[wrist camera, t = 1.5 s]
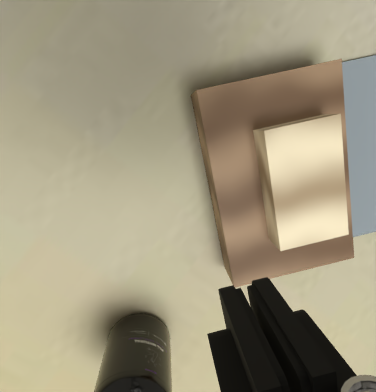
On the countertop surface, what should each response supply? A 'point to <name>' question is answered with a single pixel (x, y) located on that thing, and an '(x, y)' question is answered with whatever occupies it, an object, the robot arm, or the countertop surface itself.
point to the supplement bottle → (136, 357)
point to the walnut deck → (249, 170)
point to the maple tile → (303, 180)
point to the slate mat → (361, 140)
